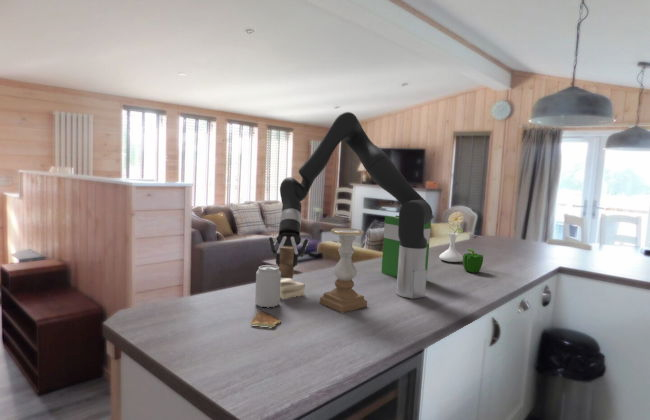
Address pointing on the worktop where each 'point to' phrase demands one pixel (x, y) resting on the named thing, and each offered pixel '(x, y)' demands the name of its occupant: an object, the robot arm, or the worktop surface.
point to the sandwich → (265, 319)
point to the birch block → (291, 288)
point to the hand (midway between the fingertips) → (286, 265)
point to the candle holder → (344, 275)
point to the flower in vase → (453, 239)
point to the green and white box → (396, 246)
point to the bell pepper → (472, 261)
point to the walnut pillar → (286, 261)
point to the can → (268, 286)
